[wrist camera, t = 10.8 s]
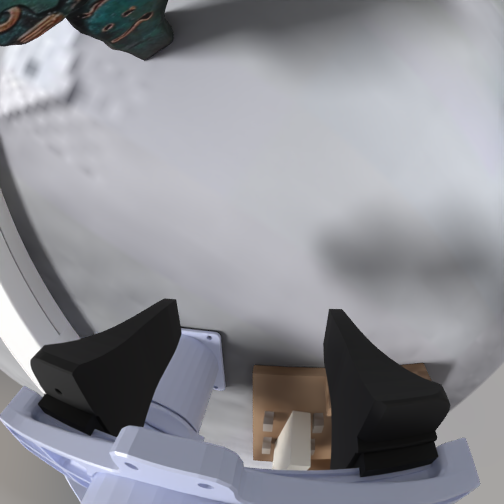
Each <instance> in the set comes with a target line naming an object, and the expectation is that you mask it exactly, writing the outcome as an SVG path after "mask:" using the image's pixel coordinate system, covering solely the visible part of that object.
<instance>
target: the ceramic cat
mask: <svg viewBox="0 0 504 504" xmlns="http://www.w3.org/2000/svg"><path fill="white" fill-rule="evenodd" d="M167 2H168V0H0V46H9V45H22V44H26V43H28V42H30V41H32V40H34V39H36V38H38V37H39V36H41V35H42V34H44V33H45V32H46V31H48V30H49V29H51V28H52V27H54V26H55V25H57V24H58V23H60V22H61V21H62V20H63V19H64V18H66V19H67V20H68V21H69V22H70V24H71V25H72V26H73V27H74V28H75V29H77V30H78V31H79V32H80V33H82V34H85V35H88V36H91V37H93V38H95V39H98V40H101V41H103V42H104V43H105V44H106V45H107V46H108V47H110V48H111V49H113V50H120V51H124V52H127V53H130V54H132V55H134V56H136V57H138V58H140V59H142V60H144V61H145V60H147V59H148V58H150V57H151V56H153V55H154V54H156V53H157V52H159V51H160V50H161V49H163V48H164V47H166V46H167V45H169V44H170V43H171V42H172V41H173V38H174V34H173V31H172V28H171V26H170V25H169V23H168V22H167V21H166V19H165V18H164V13H165V9H166V5H167Z"/></svg>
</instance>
